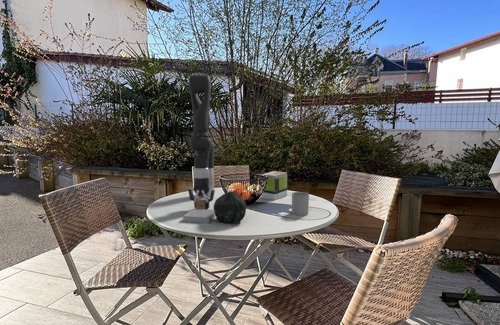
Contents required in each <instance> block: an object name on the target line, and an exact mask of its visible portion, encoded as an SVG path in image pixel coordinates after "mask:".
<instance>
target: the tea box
mask: <svg viewBox="0 0 500 325" xmlns="http://www.w3.org/2000/svg"><path fill="white" fill-rule="evenodd" d="M261 175H264V176H267V177H268V179H267V184H266V188H265V190H264V192H263V194H262V195H261V194H260V195H261V196H260V198H262V199H266V200H271V201H276V200H278V199H280V198H283V197H286V196H288V172H286V171H285V172H284V171H275V170H273V171H269V172H265V173H261V174H260V176H261Z"/></svg>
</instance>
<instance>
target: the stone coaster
mask: <svg viewBox="0 0 500 325" xmlns="http://www.w3.org/2000/svg"><path fill="white" fill-rule="evenodd" d="M215 217H216V215H215V212H214V209H207V210H203V209H195V208H192V209H191V210H189V211H188V212H187V213H186V214H184V215H183V222H186V223H187V222H188V223H189V222H190V223H200V224H201V223H203V224H210V222H212V221H213V219H215Z"/></svg>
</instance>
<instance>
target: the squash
mask: <svg viewBox="0 0 500 325" xmlns="http://www.w3.org/2000/svg"><path fill="white" fill-rule="evenodd" d="M213 210H214V212H215V215H216V216H215V217H216V218H217V219H218V220H219V221H221V222H225V223H227V224H231V223H232V224H236V223H237V222H241V221H242V220H244V218H245V216H246V212H247V203H246V201H245V199H244V198H243V197H242V196H240V195H239V194H238V193H236V192H235V191H227V192H225V193H223V194H222V195H221V196H219V197H218V198H216V200H215V201H214V204H213Z"/></svg>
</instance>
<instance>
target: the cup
mask: <svg viewBox="0 0 500 325" xmlns="http://www.w3.org/2000/svg"><path fill="white" fill-rule="evenodd" d="M309 201H310V194H309V193H308V192H304V191H296V192H292V193H291V214H292V215H294V216H298V217H301V216H302V217H303V216H304V217H305V216H308V215H309V205H310V204H309V203H310V202H309Z"/></svg>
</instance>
